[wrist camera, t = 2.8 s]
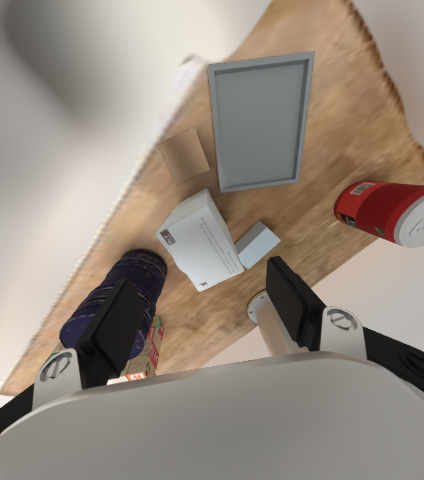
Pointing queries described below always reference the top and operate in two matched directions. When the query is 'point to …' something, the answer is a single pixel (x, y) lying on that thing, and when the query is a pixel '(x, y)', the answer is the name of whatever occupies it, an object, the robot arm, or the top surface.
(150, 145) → the top surface
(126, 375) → the stack of blocks
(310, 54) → the slate tray
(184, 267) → the skincare box
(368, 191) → the canned food
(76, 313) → the storage jar
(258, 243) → the blue-grey painted block
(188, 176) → the walnut block
